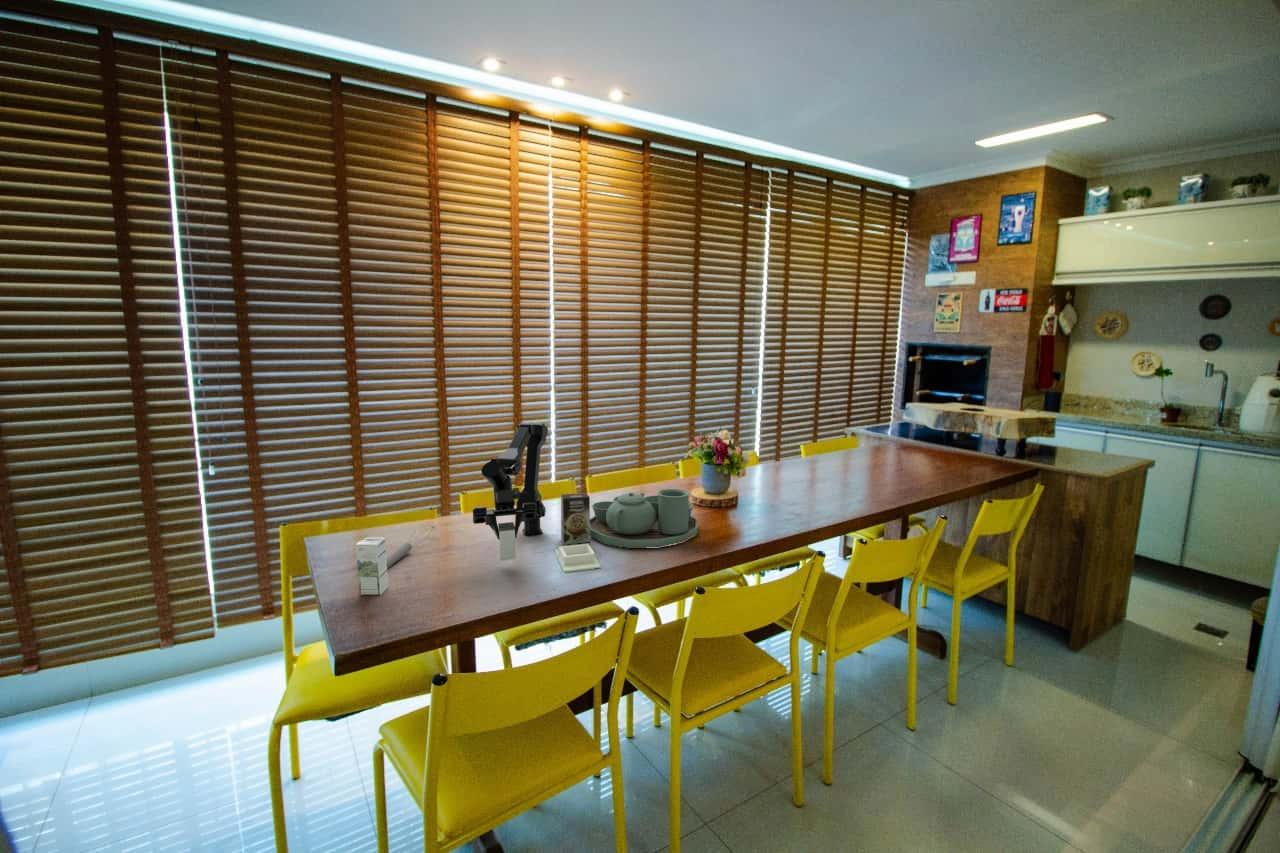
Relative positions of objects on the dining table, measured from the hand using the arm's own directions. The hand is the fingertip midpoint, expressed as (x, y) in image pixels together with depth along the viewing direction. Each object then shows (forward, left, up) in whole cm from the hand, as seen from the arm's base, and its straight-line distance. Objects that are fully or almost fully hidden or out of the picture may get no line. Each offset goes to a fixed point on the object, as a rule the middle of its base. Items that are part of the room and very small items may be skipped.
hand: (507, 538), depth 167 cm
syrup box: (+4, -36, -10) cm, 38 cm away
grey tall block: (-2, 0, -7) cm, 7 cm away
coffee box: (-19, +24, -10) cm, 32 cm away
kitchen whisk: (-25, -29, -10) cm, 40 cm away
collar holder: (-2, +21, -10) cm, 23 cm away
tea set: (-23, +49, -10) cm, 55 cm away
